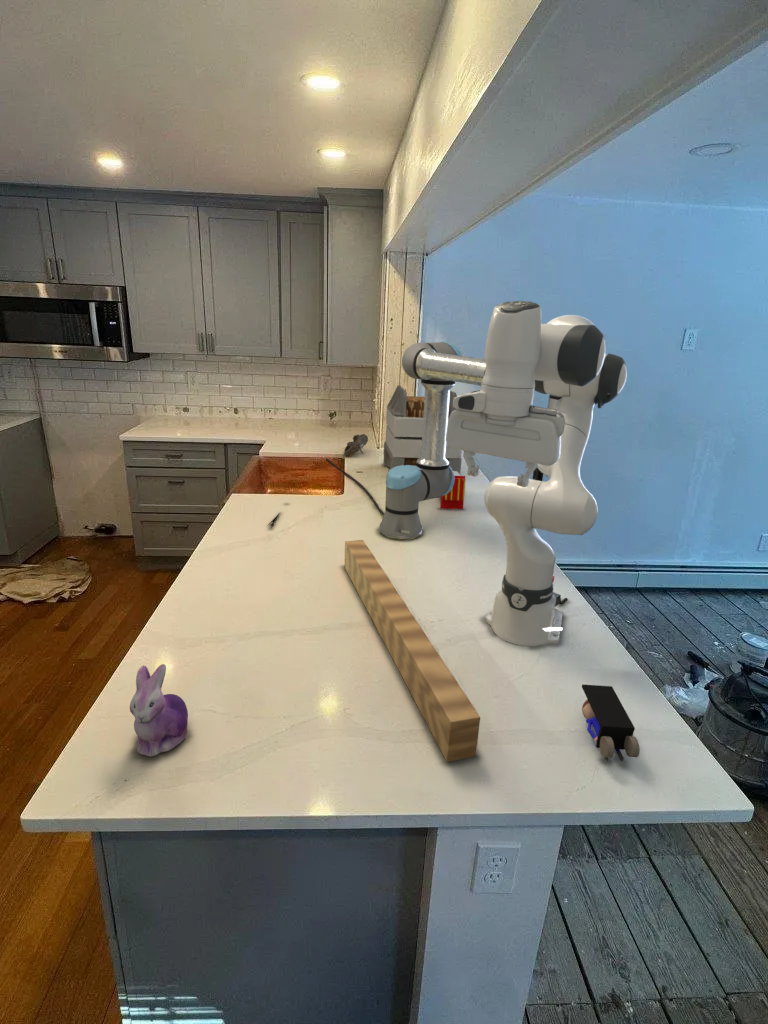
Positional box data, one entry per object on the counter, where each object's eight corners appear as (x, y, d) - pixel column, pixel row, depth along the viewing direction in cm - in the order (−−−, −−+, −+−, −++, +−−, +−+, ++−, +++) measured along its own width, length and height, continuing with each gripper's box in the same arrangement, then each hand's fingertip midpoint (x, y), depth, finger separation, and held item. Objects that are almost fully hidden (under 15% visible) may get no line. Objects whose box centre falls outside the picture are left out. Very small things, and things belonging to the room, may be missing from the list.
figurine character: (636, 775, 100) (605, 711, 114) (646, 744, 97) (613, 682, 111) (599, 774, 100) (572, 710, 114) (608, 744, 97) (579, 681, 110)
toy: (457, 467, 251) (469, 477, 222) (455, 496, 254) (467, 510, 225) (430, 466, 251) (438, 476, 222) (429, 496, 254) (437, 509, 224)
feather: (287, 506, 225) (290, 502, 224) (270, 530, 198) (272, 526, 198) (283, 504, 225) (286, 500, 224) (265, 527, 198) (268, 523, 197)
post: (344, 567, 173) (344, 541, 170) (362, 565, 174) (363, 539, 171) (446, 762, 100) (450, 722, 97) (475, 756, 101) (480, 717, 99)
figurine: (137, 767, 96) (127, 693, 90) (132, 728, 104) (122, 659, 99) (195, 750, 100) (189, 678, 95) (185, 714, 108) (179, 646, 103)
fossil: (344, 440, 316) (365, 425, 311) (355, 453, 319) (376, 438, 314) (337, 453, 296) (360, 437, 291) (349, 467, 299) (371, 452, 294)
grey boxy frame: (382, 463, 289) (386, 382, 275) (445, 464, 293) (451, 384, 279) (390, 482, 257) (394, 392, 243) (460, 483, 261) (468, 394, 247)
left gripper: (546, 420, 148) (535, 497, 155) (596, 412, 163) (584, 483, 171) (522, 415, 153) (513, 490, 160) (573, 408, 169) (562, 477, 176)
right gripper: (572, 408, 94) (560, 488, 98) (461, 393, 104) (454, 466, 109) (561, 412, 89) (548, 496, 93) (445, 397, 99) (438, 473, 104)
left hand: (549, 486), depth 166 cm, fingers open, 13 cm apart
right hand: (497, 480), depth 101 cm, fingers open, 8 cm apart
